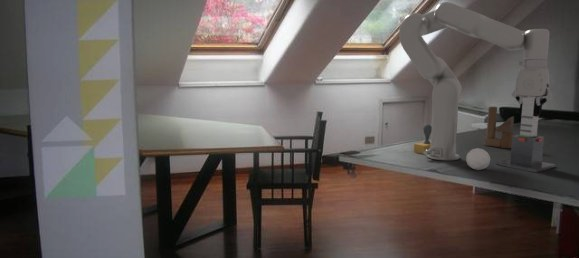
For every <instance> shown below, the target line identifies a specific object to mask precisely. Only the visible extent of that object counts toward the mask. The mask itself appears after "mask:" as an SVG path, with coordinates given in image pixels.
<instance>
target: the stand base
mask: <svg viewBox="0 0 579 258" xmlns="http://www.w3.org/2000/svg"><path fill="white" fill-rule="evenodd" d="M544 144H545V136H540V135H537V138H526V137H520V134H516V135H513V136H512V146H511V148H510V158H508V159H504V160H500V161H497V162H496V165H498V166H501V167H502V166H503V167H506V168H507V167H508V168H510V169H511V168H512V169H517V170H522V171H526V172H530V173H538V172H539V173H540V172H543V171H546V170H550V169H553V168H556V164H555V163H552V162H544V161H543V156H544Z"/></svg>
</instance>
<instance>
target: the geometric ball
mask: <svg viewBox="0 0 579 258" xmlns="http://www.w3.org/2000/svg"><path fill="white" fill-rule="evenodd" d="M465 158H466V159H465V161H466V163H467V166H469V168H471V169H472V170H476V171H482V170H485V169H486V168H487V167H488V166H489V165H490V163H491V162H490V161H491V157H490V154H489V153H488V152H487V151H486V149H483V148H478V147H476V148H472V149H470V150H469V151H468V152H467V153H466V157H465Z"/></svg>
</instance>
